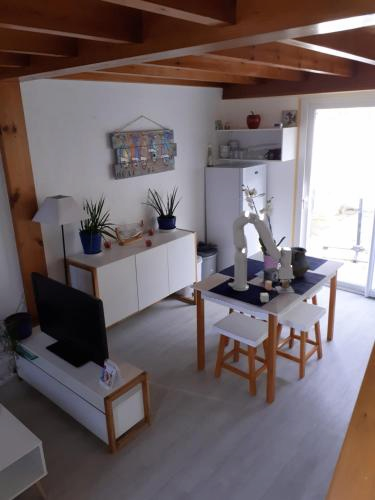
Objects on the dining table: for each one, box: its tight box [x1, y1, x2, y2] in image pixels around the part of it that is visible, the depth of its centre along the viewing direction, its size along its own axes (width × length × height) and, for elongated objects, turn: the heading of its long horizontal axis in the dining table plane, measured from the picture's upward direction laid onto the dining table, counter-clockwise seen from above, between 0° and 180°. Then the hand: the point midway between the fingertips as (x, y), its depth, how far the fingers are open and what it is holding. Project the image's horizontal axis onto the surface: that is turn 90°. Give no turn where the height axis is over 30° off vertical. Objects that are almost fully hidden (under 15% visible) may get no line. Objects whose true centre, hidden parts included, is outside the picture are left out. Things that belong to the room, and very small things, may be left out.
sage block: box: [259, 292, 270, 303], centre depth 298 cm, size 5×5×5 cm
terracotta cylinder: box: [264, 281, 273, 291], centre depth 317 cm, size 5×5×6 cm
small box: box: [263, 267, 279, 284], centre depth 329 cm, size 11×6×10 cm, turn 105°
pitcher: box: [289, 246, 311, 279], centre depth 336 cm, size 21×22×25 cm
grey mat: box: [274, 285, 295, 294], centre depth 315 cm, size 12×12×1 cm
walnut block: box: [282, 279, 290, 289], centre depth 313 cm, size 5×5×5 cm
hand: (284, 286), depth 314 cm, fingers closed on walnut block, 5 cm apart
